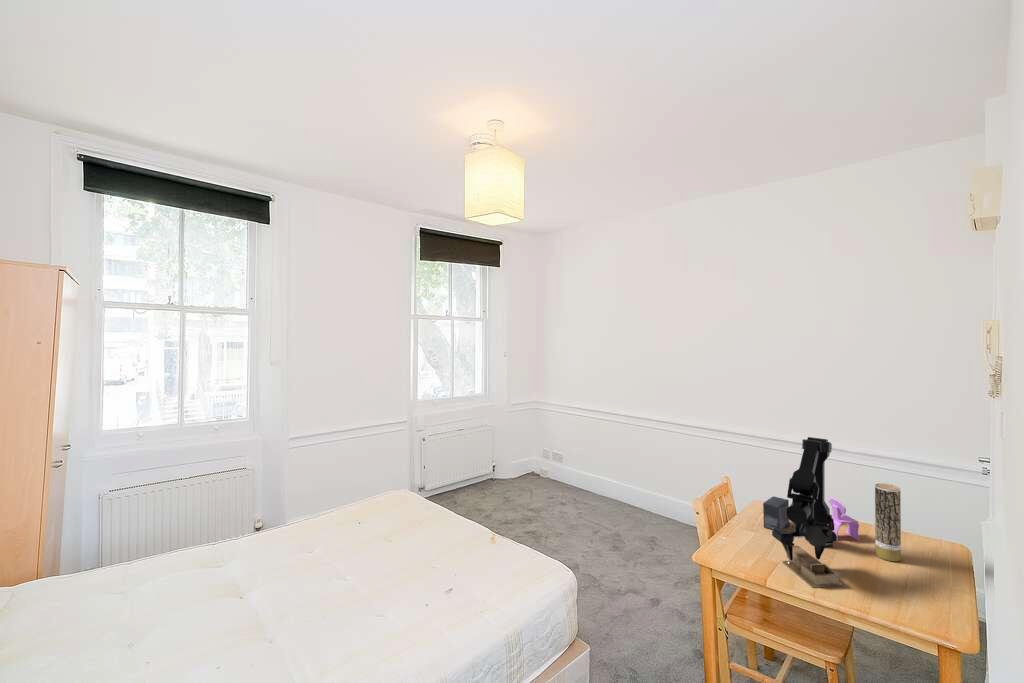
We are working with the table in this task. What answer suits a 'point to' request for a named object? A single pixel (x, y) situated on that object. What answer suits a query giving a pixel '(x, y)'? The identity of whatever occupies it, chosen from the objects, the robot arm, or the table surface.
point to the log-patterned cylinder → (888, 522)
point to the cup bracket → (815, 575)
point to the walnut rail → (806, 560)
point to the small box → (775, 513)
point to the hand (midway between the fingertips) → (804, 559)
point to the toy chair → (843, 519)
